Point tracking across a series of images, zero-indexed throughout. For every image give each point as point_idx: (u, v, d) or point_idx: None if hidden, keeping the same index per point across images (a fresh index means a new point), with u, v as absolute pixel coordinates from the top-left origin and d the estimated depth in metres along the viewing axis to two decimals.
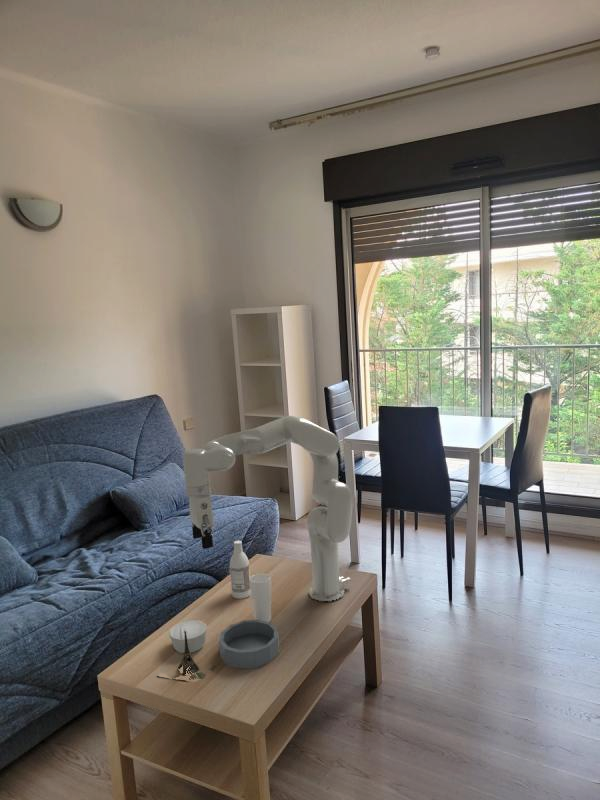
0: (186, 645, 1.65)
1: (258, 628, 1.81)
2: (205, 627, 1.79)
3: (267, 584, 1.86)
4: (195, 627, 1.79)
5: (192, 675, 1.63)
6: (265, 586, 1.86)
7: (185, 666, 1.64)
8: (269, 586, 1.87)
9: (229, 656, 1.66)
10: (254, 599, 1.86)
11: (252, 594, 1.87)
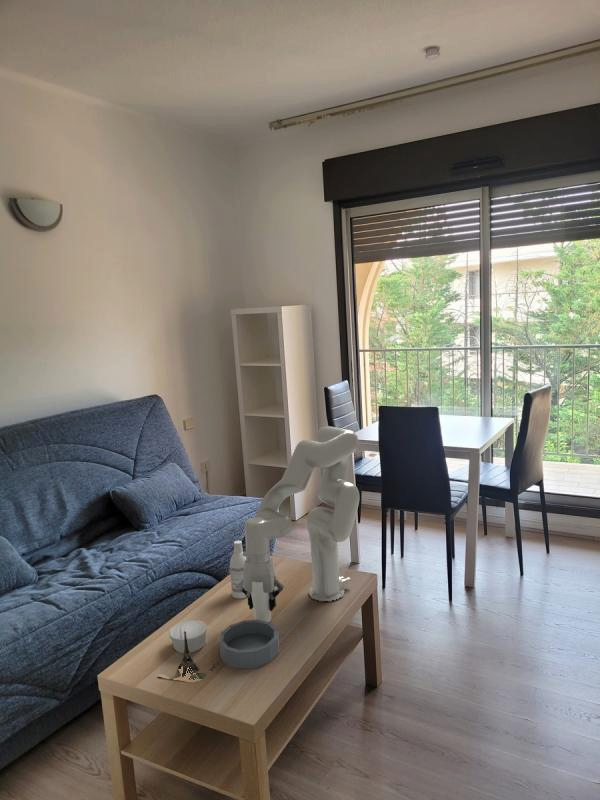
0: (186, 645, 1.65)
1: (258, 628, 1.81)
2: (205, 627, 1.79)
3: None
4: (195, 627, 1.79)
5: (192, 675, 1.63)
6: None
7: (185, 667, 1.64)
8: None
9: (229, 656, 1.66)
10: (254, 599, 1.86)
11: (252, 594, 1.87)
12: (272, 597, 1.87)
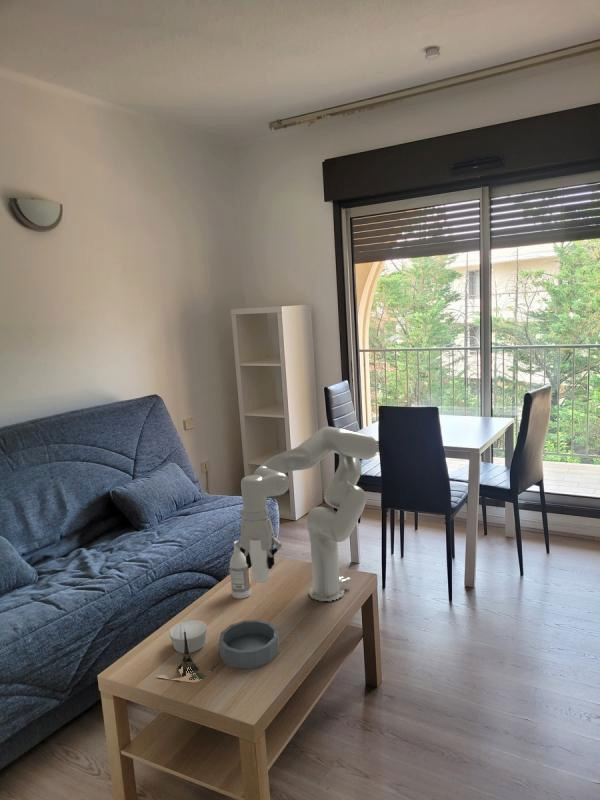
0: (186, 646, 1.65)
1: (258, 628, 1.81)
2: (205, 627, 1.79)
3: None
4: (195, 627, 1.79)
5: (192, 676, 1.63)
6: None
7: (185, 667, 1.64)
8: None
9: (229, 656, 1.66)
10: (253, 557, 1.85)
11: (250, 552, 1.85)
12: (270, 555, 1.85)
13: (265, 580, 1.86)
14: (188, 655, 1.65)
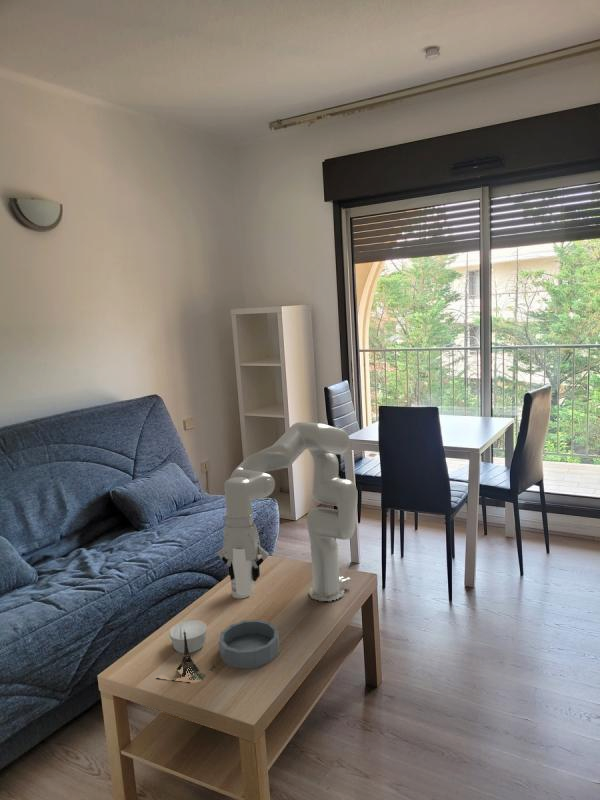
0: (186, 646, 1.65)
1: (258, 628, 1.81)
2: (205, 627, 1.79)
3: None
4: (195, 627, 1.79)
5: (192, 676, 1.63)
6: None
7: (185, 667, 1.64)
8: None
9: (229, 656, 1.66)
10: (236, 567, 1.67)
11: (233, 562, 1.68)
12: (255, 566, 1.68)
13: (249, 593, 1.69)
14: (188, 655, 1.65)
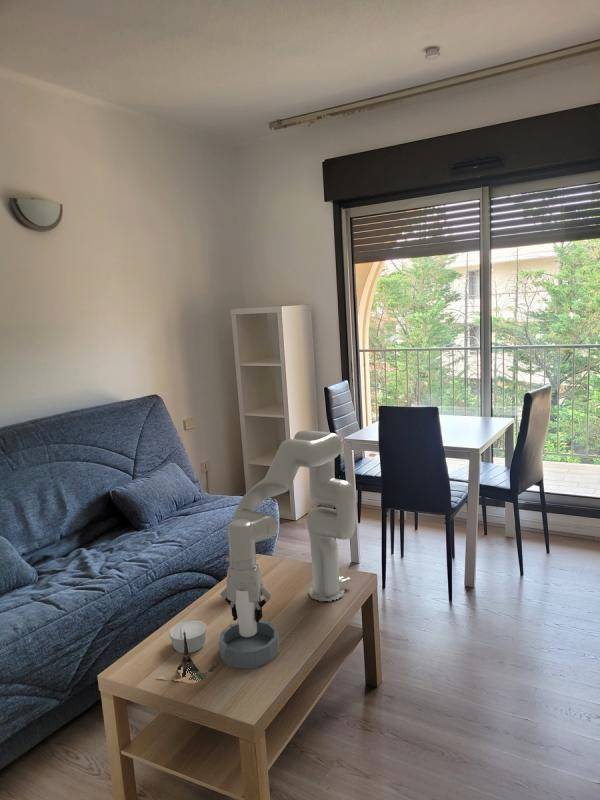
0: (185, 646, 1.64)
1: (258, 628, 1.81)
2: (205, 627, 1.79)
3: None
4: (195, 627, 1.79)
5: (192, 676, 1.63)
6: None
7: (185, 667, 1.64)
8: None
9: (229, 656, 1.66)
10: (239, 609, 1.69)
11: (236, 604, 1.69)
12: (258, 607, 1.69)
13: (252, 634, 1.71)
14: (188, 656, 1.65)
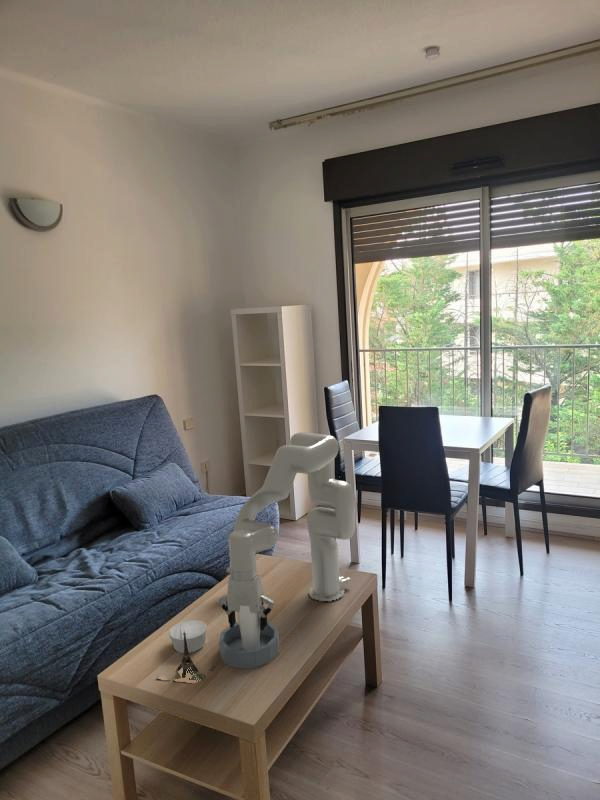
0: (185, 647, 1.64)
1: None
2: (205, 627, 1.79)
3: None
4: (195, 627, 1.79)
5: (192, 676, 1.63)
6: None
7: (185, 668, 1.64)
8: None
9: (229, 656, 1.66)
10: (242, 624, 1.70)
11: (239, 618, 1.70)
12: (263, 615, 1.69)
13: (255, 648, 1.71)
14: (188, 656, 1.65)
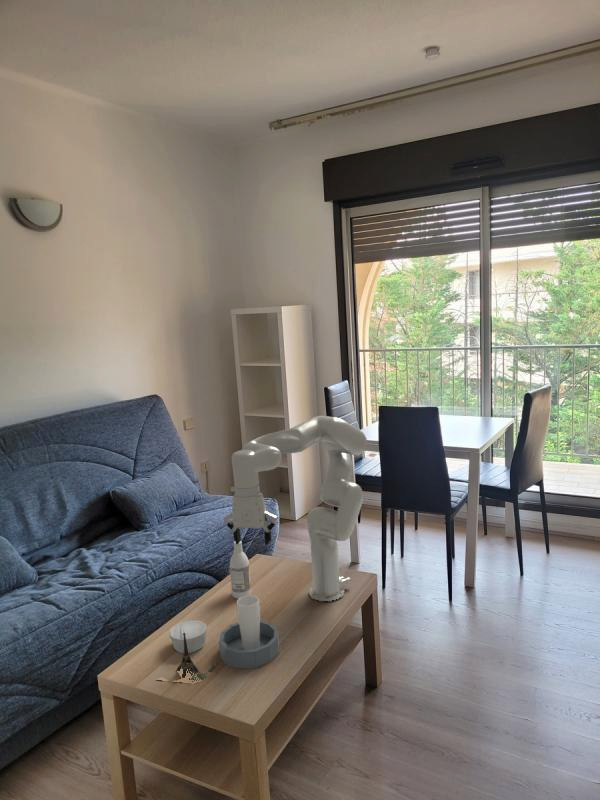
0: (185, 647, 1.64)
1: None
2: (205, 627, 1.79)
3: (255, 608, 1.69)
4: (195, 627, 1.79)
5: (192, 677, 1.62)
6: (253, 610, 1.69)
7: (185, 668, 1.63)
8: (258, 610, 1.70)
9: (229, 656, 1.66)
10: (242, 624, 1.70)
11: (239, 618, 1.70)
12: (267, 530, 1.78)
13: (255, 648, 1.71)
14: (188, 656, 1.64)
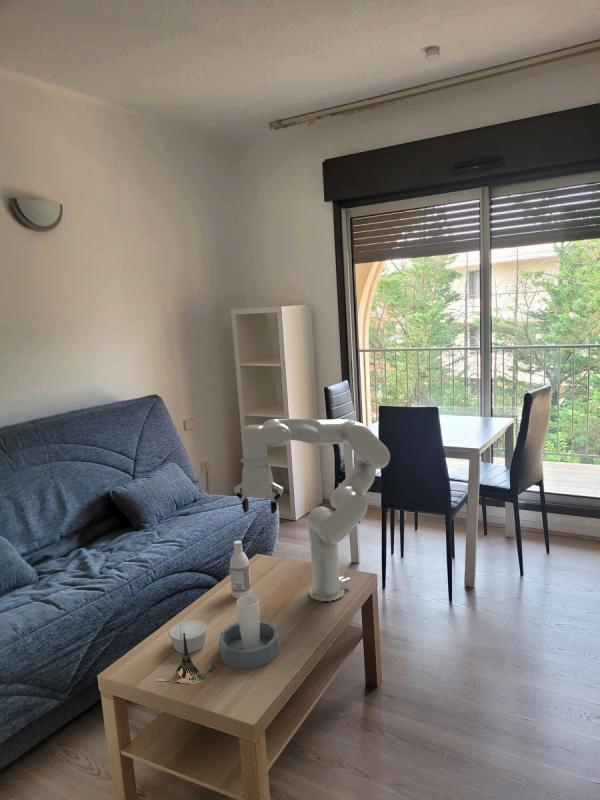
0: (185, 647, 1.64)
1: None
2: (205, 627, 1.79)
3: (255, 608, 1.69)
4: (195, 627, 1.79)
5: (192, 677, 1.62)
6: (253, 610, 1.69)
7: (185, 668, 1.63)
8: (258, 609, 1.70)
9: (229, 656, 1.66)
10: (242, 624, 1.70)
11: (239, 618, 1.70)
12: (273, 500, 1.91)
13: (255, 648, 1.71)
14: (188, 656, 1.64)
